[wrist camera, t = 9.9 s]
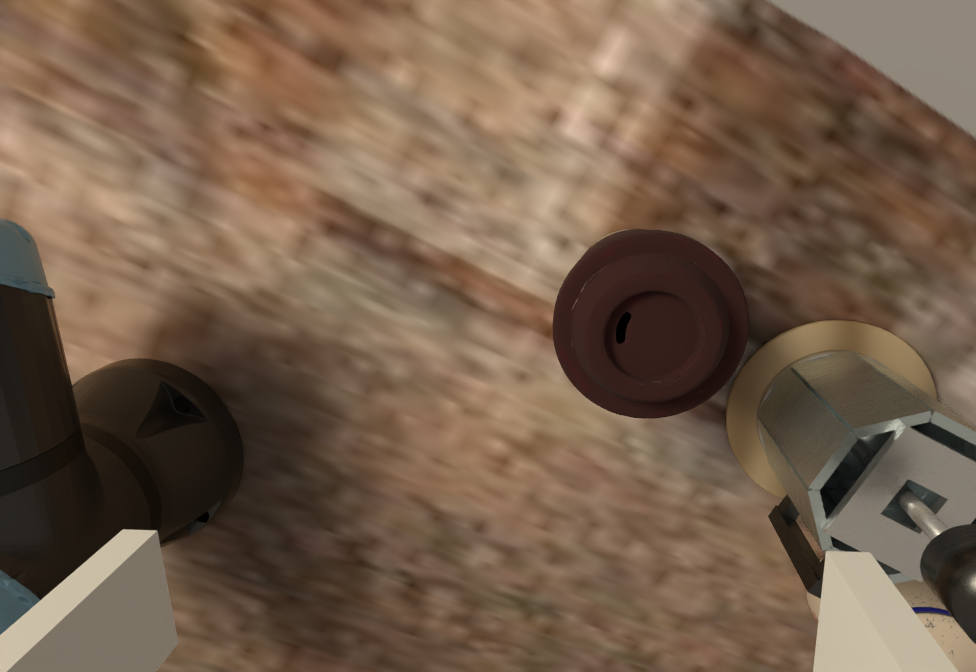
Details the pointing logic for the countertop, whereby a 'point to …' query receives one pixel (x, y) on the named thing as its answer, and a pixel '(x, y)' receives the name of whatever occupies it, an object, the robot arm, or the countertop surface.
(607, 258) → the coffee cup
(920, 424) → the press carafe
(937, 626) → the teacup with lid
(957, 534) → the plunger
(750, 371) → the cork trivet
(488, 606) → the countertop surface
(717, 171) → the countertop surface
